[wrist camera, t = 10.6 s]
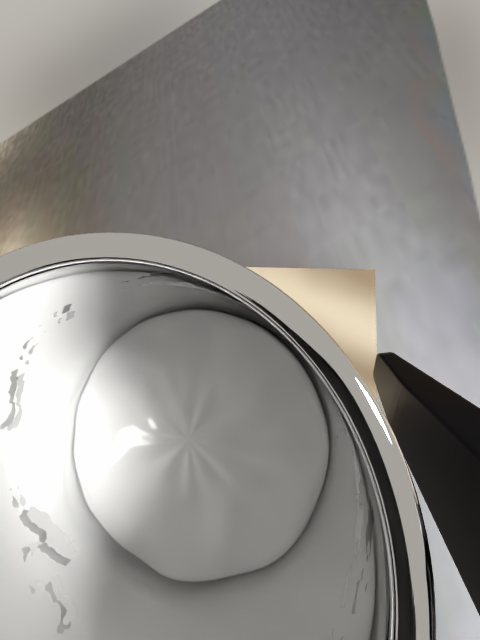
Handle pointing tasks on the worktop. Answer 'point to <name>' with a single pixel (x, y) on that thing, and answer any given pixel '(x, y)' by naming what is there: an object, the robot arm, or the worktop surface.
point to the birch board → (336, 307)
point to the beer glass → (192, 458)
